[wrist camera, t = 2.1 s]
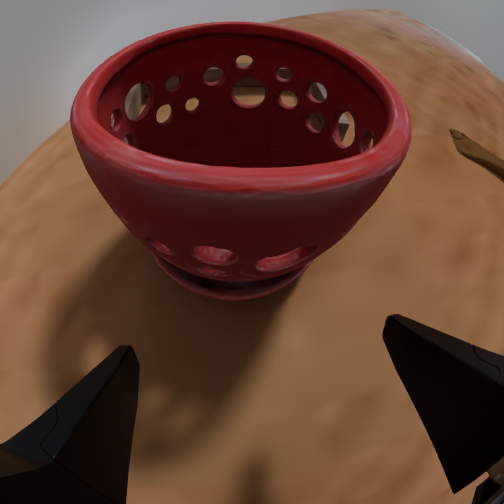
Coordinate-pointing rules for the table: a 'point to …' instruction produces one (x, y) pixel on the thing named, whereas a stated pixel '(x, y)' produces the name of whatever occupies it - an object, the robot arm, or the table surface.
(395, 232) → the table surface
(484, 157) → the primitive tool
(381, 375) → the table surface
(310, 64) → the plant pot
